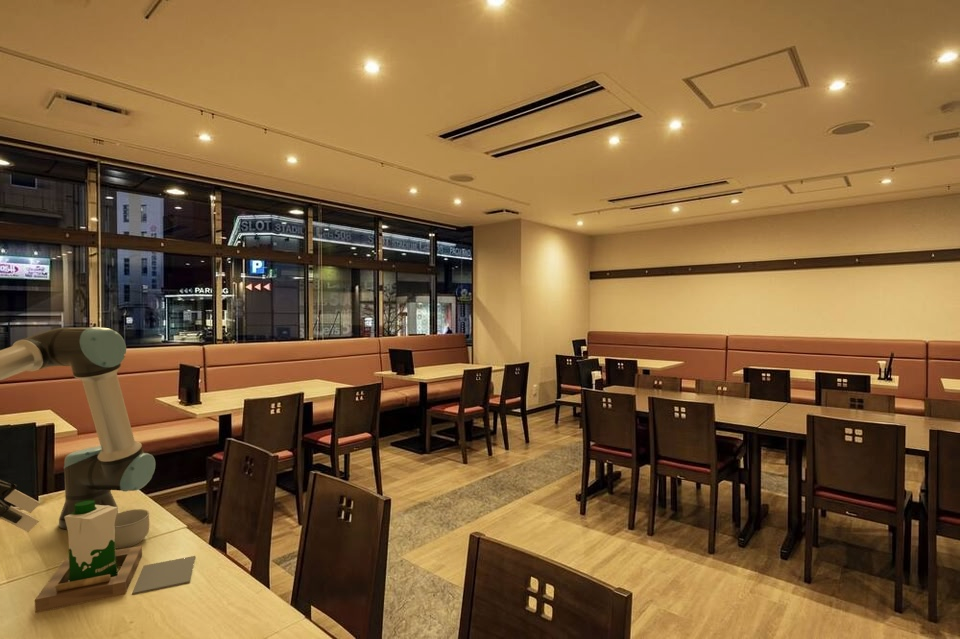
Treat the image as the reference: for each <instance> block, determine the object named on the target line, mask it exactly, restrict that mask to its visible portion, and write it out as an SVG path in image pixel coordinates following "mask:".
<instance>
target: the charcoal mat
mask: <svg viewBox="0 0 960 639" xmlns="http://www.w3.org/2000/svg"><path fill="white" fill-rule="evenodd" d="M184 558H185V559H184ZM194 560H196V555H192V556H186V557H182V558H177V559H171V560H166V561H161V562H155V563H149V564H145V565H143V566H142V568H141V571H140V572H139V576H138V578H137V580H136V582H135V585H134V587H133V590H132V591H131V592H132V593H131V595H137V594H141V593H147V592H151V591H156V590H160V589H161V590H162V589H166V588H172V587H177V586H179V585H184V584H185V585H186V584H190V583H191V578H192V574H193V570H192V569H194V565H195V561H194ZM193 564H194V565H193Z"/></svg>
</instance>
